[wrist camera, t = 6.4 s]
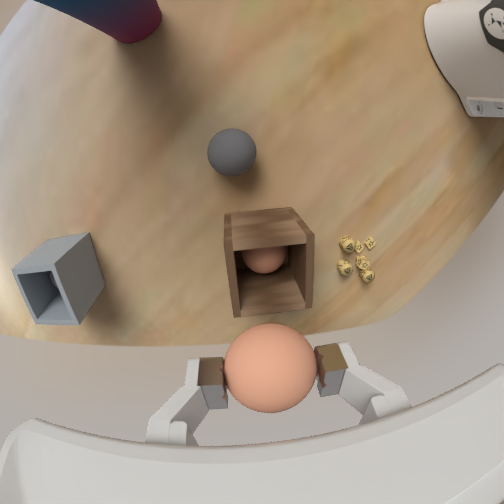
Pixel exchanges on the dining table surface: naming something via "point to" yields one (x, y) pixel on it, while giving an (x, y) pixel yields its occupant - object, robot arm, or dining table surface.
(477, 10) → the robot arm
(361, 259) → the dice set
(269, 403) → the terracotta ball
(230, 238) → the walnut tube
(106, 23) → the cup
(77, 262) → the grey square open box
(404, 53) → the dining table surface
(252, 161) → the charcoal ball
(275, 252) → the terracotta ball
